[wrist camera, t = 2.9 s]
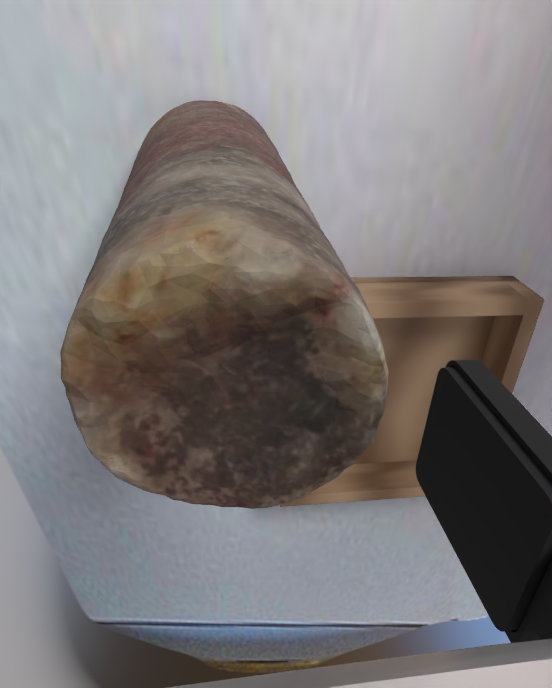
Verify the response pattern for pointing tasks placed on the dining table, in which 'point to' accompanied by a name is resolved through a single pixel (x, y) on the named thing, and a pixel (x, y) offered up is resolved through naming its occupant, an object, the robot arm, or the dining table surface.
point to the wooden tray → (429, 366)
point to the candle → (221, 326)
